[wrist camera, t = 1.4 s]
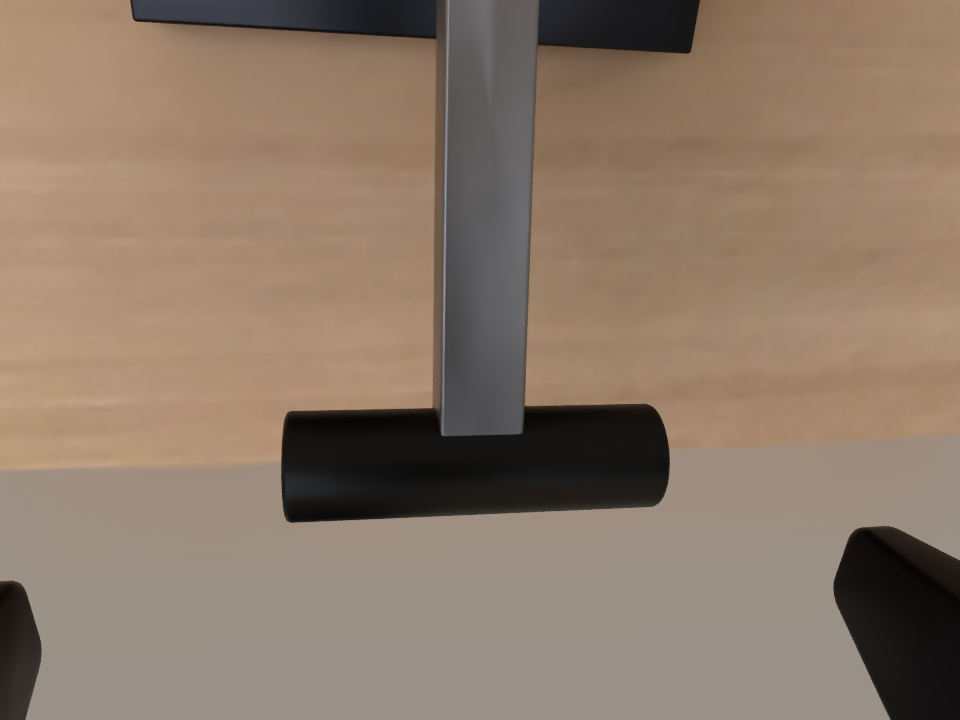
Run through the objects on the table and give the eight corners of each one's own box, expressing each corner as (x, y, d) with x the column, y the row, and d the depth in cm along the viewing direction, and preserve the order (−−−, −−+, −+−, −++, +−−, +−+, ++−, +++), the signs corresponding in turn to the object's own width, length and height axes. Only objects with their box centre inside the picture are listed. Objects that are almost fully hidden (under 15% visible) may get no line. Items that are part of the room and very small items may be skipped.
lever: (619, 473, 12) (682, 539, 10) (295, 484, 11) (279, 559, 9) (677, -441, 9) (782, -652, 7) (265, -512, 9) (232, -775, 6)
